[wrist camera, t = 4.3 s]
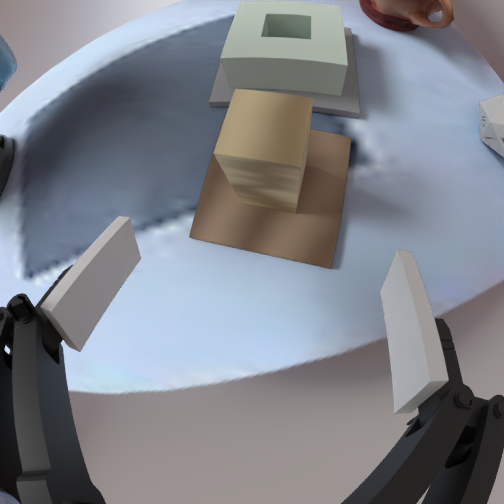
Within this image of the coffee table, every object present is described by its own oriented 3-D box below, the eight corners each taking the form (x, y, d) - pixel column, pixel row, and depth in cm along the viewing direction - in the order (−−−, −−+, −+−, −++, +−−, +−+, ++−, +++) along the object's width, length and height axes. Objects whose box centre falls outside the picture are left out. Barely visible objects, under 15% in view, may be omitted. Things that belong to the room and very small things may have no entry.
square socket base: (211, 106, 28) (195, 72, 22) (235, 26, 29) (227, -5, 24) (358, 118, 26) (370, 83, 20) (350, 33, 27) (355, 2, 21)
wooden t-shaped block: (192, 238, 26) (134, 208, 15) (226, 121, 28) (198, 50, 17) (329, 268, 24) (361, 255, 14) (349, 142, 26) (375, 71, 15)
